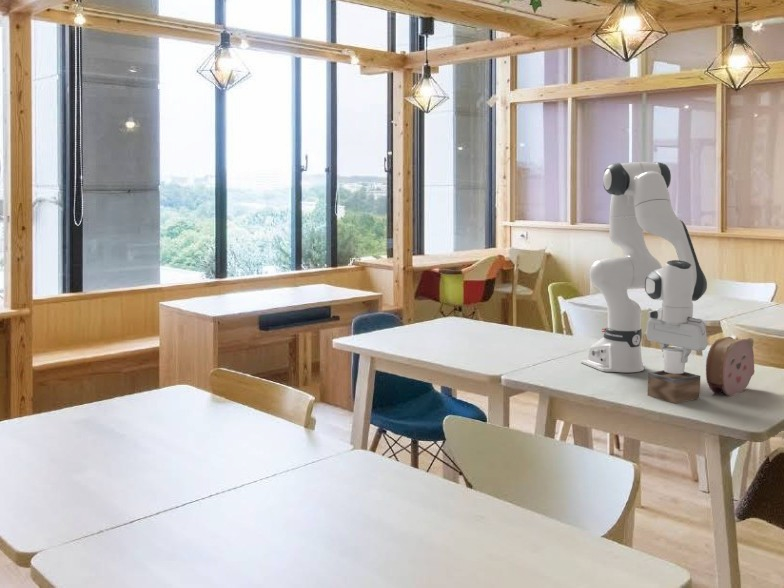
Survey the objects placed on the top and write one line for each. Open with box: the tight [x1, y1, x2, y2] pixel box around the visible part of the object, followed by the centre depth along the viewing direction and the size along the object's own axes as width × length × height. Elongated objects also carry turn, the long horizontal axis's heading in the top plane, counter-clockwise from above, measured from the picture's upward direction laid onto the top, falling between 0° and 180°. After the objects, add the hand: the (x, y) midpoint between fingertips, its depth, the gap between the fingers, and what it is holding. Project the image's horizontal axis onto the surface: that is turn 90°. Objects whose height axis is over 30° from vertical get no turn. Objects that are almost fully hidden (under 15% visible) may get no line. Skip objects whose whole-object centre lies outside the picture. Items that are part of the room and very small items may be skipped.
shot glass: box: [662, 346, 686, 374], centre depth 244 cm, size 7×7×7 cm
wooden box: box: [647, 369, 701, 404], centre depth 245 cm, size 11×11×7 cm
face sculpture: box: [705, 336, 755, 397], centre depth 251 cm, size 20×7×17 cm, turn 132°
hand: (675, 360), depth 244 cm, fingers closed on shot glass, 5 cm apart
